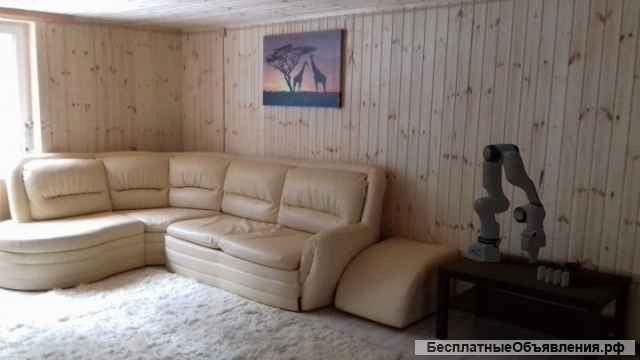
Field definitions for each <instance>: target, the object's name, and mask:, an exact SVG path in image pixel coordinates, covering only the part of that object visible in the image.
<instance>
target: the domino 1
mask: <svg viewBox="0 0 640 360" xmlns="http://www.w3.org/2000/svg"><path fill="white" fill-rule="evenodd" d="M532 254H533V257H532V258H529V261H528V262H529V263H531V264H534V263H537V260H538V256H537V249H534V250H532Z"/></svg>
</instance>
